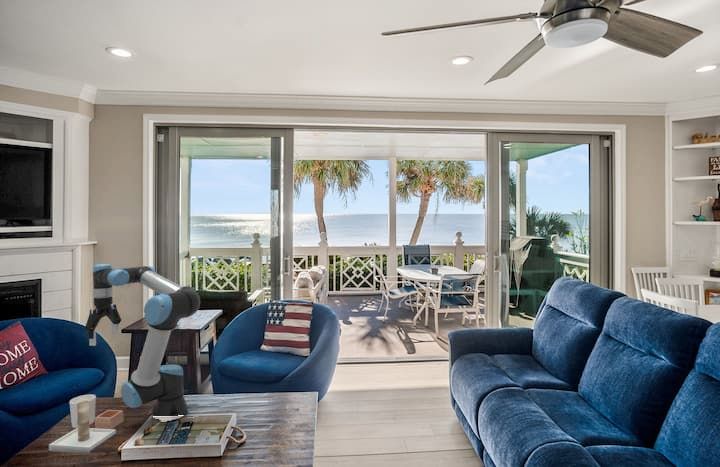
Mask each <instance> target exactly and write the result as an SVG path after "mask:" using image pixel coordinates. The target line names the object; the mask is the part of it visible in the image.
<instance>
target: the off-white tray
mask: <svg viewBox="0 0 720 467" xmlns="http://www.w3.org/2000/svg"><path fill="white" fill-rule="evenodd" d="M89 429H90V438H89V439H88V440H86V441H82V442H79V441H78V428H74V429H73V430H71V431H70V432H68V433H66V434H64V435H63V436H61V437H59V438H58V439H55V440H54V441H52V442H50V443H49V444H48V451H49V452H61V453H73V454H74V453H75V454H77V453H78V454H92V453H93V451H92V450H94V449H95V448H96V447H98V446H99V445H101V444H103V443H104V442H106V441H107V440H108V439H110V438H112V437H113V436H114V435H116V434H117V429H115V428H113V429H98V428H95V427H89Z"/></svg>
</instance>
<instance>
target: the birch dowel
mask: <svg viewBox="0 0 720 467" xmlns="http://www.w3.org/2000/svg"><path fill="white" fill-rule="evenodd" d="M77 423H78V441H79V442H82V441H86V440H88V439H89V438H90V429H89V428H90V425H89V401H82V402H79V403H77Z"/></svg>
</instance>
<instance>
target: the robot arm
mask: <svg viewBox="0 0 720 467" xmlns="http://www.w3.org/2000/svg"><path fill="white" fill-rule="evenodd" d="M92 271H93V272H92V279H93V280H92V282H93V283H92V284H93V297H94V298H93V306H94V307H95V309H90V310H89V315H88V318H87V321H86V323H85V326H84V332H88V341H89V344H88V345H89V346H90V347H91V346H93V347H95V346H97V331H96V328H97V326H98V325H99V323H100V321H101V319H102V318H104V317H107V318H108V319H109V320H110V322H111V323H112V324H111V329H110V330H111V338H115V339H116V338H118V337H119V335H118V332H119V331H118V329H119V325H120V324H121V322H122V317H121V315H120V313H119V311H118V309H117V304H113V303H114V302H113V287H119V286H120V287H121V286H124V285H130V284H136V283H137V284H138V283H139V284H141V285H143V286H144V287H147V288H148V289H150V290H152V291H153V292H155V293H157V294H158V295H154V296H152V297H149V299H148V300H147V301H146V303H145V306H144V308H143V313H144V315H143V318H144V319H145V322H146V323H147V325H148V326H149V328H148V331H147V334H146V339H145V342H144V344H143V349H142V351H141V355H140V359H139V362H138V366H137V369H136V370H134V371H133V372H132V373H131V374H130V375H131V376H130V380H128V381H126V382H124V383H122V385H121V388H120V394H121V398H122V401H123V402H124V404H125V405H126V407H128V408H131V409H136V408H139V407H143V405H148V404H149V403H151V402H154V401H156V402H155V405H154V408H153V410H152V415H151V416H178V415H185V416H187V414H188V413H189V412H188V411H189V408H188V407H189V406H188V405H187V401H186V399H185V396H184V393H185V392H184V369H183V367H182V366H181V365H179V364H163V365H161V364H162V362H163V359H164V356H165V351H166V349H167V347H168V343H169V339H170V336H171V332H172V331H174V330H175V329H176V328H177V326H178V323H179V320H182V319H187V318H189V317H192V316H193V315H195V314H196V313H197V312H198V310H199V309H200V306H201V297H200V295H199V294H198V292H197V291H196V290H194V289H193V288H191V287H189V286H186V285H185V286H182V285H180V284H178V283H176V282H174V281H172V280H171V279H168V278H167V277H164V276H162V275H160V274H158V273H157V272H156V269H154V267H153V266H151V265H149V266H147V265H144V266H135V267H125V268H113V266H112V265H111V264H110V263H101V264H94V265H93V270H92Z"/></svg>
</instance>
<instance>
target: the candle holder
mask: <svg viewBox="0 0 720 467" xmlns="http://www.w3.org/2000/svg"><path fill="white" fill-rule="evenodd" d="M96 400H97V396H96V394H83V395H79V396H76V397H73V398H71V399H70V400H69V409H70V410H69V411H70V421H71V427H72V428H74V429H76V428H78V423H77V403H79V402H82V401H89V426H91V425H92V424H95V417H96V402H97V401H96Z"/></svg>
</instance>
